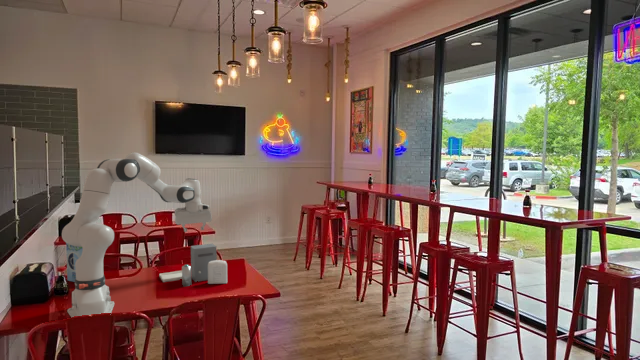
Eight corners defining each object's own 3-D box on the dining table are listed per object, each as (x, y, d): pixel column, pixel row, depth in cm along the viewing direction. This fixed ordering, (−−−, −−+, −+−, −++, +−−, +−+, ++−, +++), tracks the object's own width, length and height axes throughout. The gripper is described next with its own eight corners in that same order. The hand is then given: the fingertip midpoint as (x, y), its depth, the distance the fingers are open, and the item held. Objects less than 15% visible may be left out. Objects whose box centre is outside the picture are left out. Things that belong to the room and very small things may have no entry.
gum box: (67, 281, 236) (65, 239, 234) (75, 278, 240) (73, 237, 238) (92, 285, 228) (90, 242, 226) (100, 282, 232) (98, 240, 230)
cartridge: (192, 285, 227) (191, 265, 226) (183, 286, 225) (182, 266, 224) (190, 283, 231) (189, 263, 230) (181, 284, 229) (180, 264, 228)
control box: (217, 278, 239) (216, 246, 237) (195, 282, 233) (194, 249, 231) (212, 274, 246) (212, 243, 245) (191, 277, 240) (190, 245, 239)
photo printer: (227, 281, 234) (227, 258, 233) (227, 283, 230) (226, 261, 229) (208, 282, 232) (207, 259, 231) (207, 284, 228) (206, 261, 227)
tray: (189, 278, 239) (189, 275, 239) (163, 282, 232) (163, 279, 232) (184, 272, 250) (184, 270, 250) (159, 276, 243) (159, 273, 243)
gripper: (175, 209, 238) (176, 233, 239) (212, 206, 248) (213, 229, 249) (173, 207, 243) (174, 231, 244) (209, 204, 253) (210, 228, 255)
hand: (194, 230), depth 247 cm, fingers open, 8 cm apart
